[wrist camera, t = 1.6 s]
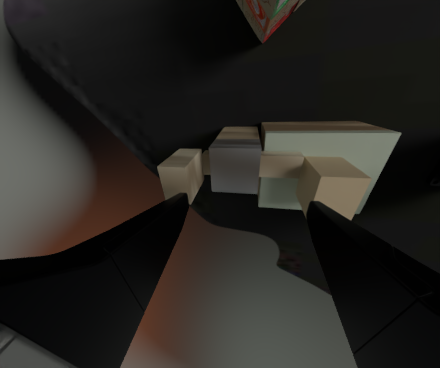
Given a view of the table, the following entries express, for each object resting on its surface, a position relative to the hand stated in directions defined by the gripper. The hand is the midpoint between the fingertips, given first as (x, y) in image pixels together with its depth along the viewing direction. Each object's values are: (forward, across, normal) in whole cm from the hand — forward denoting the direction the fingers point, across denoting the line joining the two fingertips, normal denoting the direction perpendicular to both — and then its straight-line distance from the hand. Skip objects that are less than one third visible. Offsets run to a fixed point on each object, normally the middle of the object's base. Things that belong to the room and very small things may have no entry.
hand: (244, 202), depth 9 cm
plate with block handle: (+8, -6, +2) cm, 10 cm away
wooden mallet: (+7, +1, 0) cm, 7 cm away
